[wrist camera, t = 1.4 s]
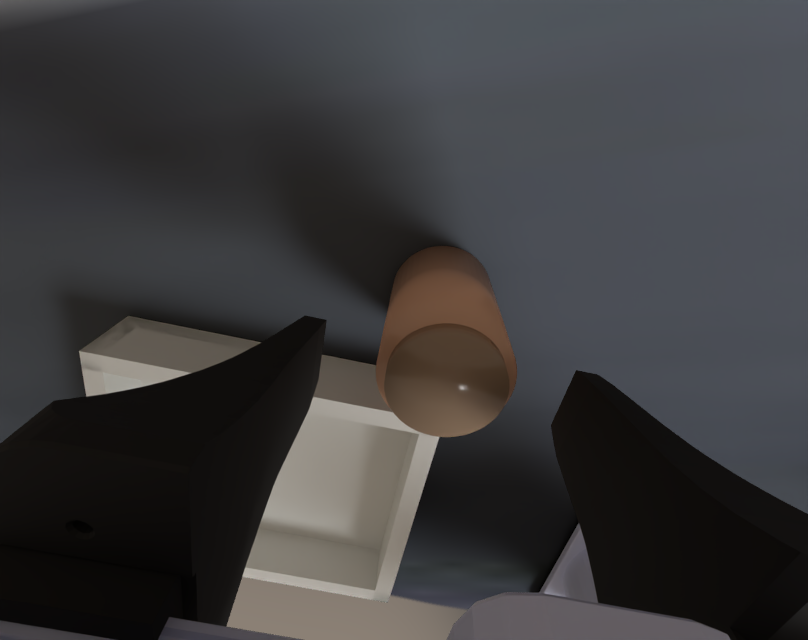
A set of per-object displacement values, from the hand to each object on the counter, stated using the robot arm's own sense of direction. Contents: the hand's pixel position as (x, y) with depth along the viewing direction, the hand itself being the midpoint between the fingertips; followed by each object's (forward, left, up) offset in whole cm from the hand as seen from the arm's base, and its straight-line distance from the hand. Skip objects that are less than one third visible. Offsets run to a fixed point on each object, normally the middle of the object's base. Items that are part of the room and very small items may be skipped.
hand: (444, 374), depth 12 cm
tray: (+6, +10, -6) cm, 13 cm away
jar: (0, 0, -6) cm, 6 cm away
